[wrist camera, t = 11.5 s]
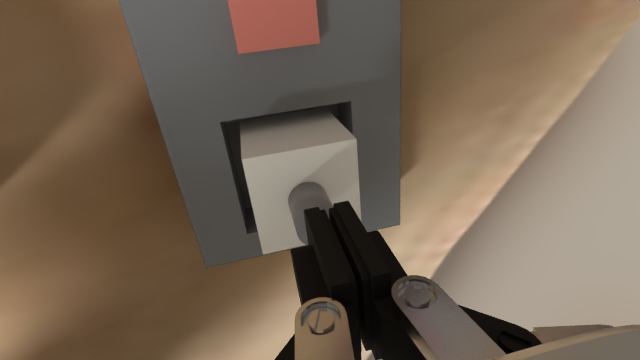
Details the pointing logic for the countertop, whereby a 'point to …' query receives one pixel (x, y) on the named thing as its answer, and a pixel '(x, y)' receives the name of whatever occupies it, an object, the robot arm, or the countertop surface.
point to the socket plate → (267, 97)
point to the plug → (296, 172)
